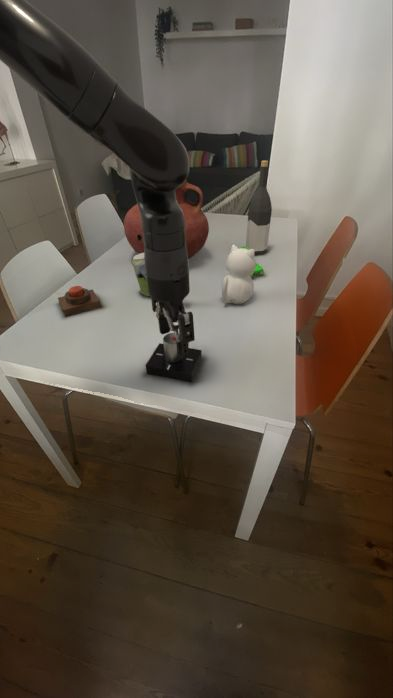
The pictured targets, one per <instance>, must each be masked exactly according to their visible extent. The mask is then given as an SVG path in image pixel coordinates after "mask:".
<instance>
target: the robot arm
mask: <svg viewBox="0 0 393 698" xmlns="http://www.w3.org/2000/svg"><path fill="white" fill-rule="evenodd" d="M0 62H2V64H4V65H5V66H6V67H8V69H10V70H11V71H12V72H13V73H14V74H15V75H16V76H18V77H19V78H20V79H21V80H22V81H23V82H24V83H26V85H27V86H29V87H30V88H31V89H32V90H33V91H34V92H35V93H37V94H38V95H39V96H40V97H42V99H43V100H45V101H46V102H47V103H48V104H49V105H50V106H52V107H53V108H54V109H55V110H56V111H57V112H58V113H60V114H61V115H62V116H63V117H64V118H66V120H68V121H69V122H70V123H71V124H73V125H74V126H75V127H76V128H77V129H79V130H80V131H81V132H82V133H84V134H85V135H86V136H87V137H88V138H90V139H91V140H92V141H93V142H95V143H97V144H98V145H100V146H101V147H103V148H105V149H107V150H108V151H110V152H112V154H114V155H115V156H116V157H117V158H118V159H120V160H121V161H122V162H123V163H124V164H125V165H127V167H128V170H129V175H130V181H131V184H132V185H131V186H132V189H133V193H134V196H135V200H136V204H138V207H139V211H140V215H141V225H142V234H143V242H144V261H145V268H146V276H147V284H148V291H149V295H150V296H149V297H150V298H151V299H150V300H151V309H152V312H153V313H155V317H156V318H157V319H158V320H157V322H158V330H159V333H160V335H167V334H169V333H171V331H172V332H173V333H174V334H175V337H176V344H177V354H178V355H179V356H183V355H186V354H188V352H189V348H190V347H189V343H191V342H195V340H196V339H195V338H196V337H195V326H194V325H195V323H194V314H193V312H192V311H188V312H186V307H185V304H184V300H185V299H186V297H188V295H189V294H190V289H191V288H190V267H189V266H190V265H189V259H188V252H187V247H186V230H185V217H184V213H183V210H182V208H181V207H180V206H179V204H178V202H177V200H176V195H175V190H176V189H178V188H179V187H180V186H182V185H183V183H184V182H185V180H187V179H188V177H189V173H190V166H191V165H190V158H189V154H188V151H187V148H186V146H185V145H184V143H183V142H182V141H181V139H180V138H179V137H178V136H177V135H176V134H175V133H174V132H173V131H172V129H170V128H169V127H168V126H167V125H166V124H164V123H163V122H162V121H161V120H160V119H159V118H157V117H156V116H154V114H152V113H151V112H150V111H149V110H147V108H145V107H144V106H143V105H141V104H140V103H139V102H137V101H136V100H135V99H134V98H133V97H132V96H131V95H130V94H129V93H128V92H127V91H126V89H124V88H123V86H122V85H121V84H120V83H119V82H118V81H117V80H116V79H115V78H114V77H113V75H111V74H110V73H109V72H108V70H106V69H105V68H104V66H102V65H101V63H100V62H98V61H97V59H96V58H95V57H94V56H93V55H92V54H91V53H90V52H89V51H87V49H86V48H85V47H84V46H83V45H82V44H80V43H79V42H78V41H77V40H76V39H75V38H74V37H73V36H71V34H69V33H68V32H67V31H65V30H64V29H63V28H62V27H60V26H59V24H57V23H55V21H53V20H52V19H51V18H50V17H48V16H47V15H45V14H44V13H43V12H41V10H39V9H38V8H37V7H35V6H34V5H32V4H31V3H30V2H29V1H27V0H0ZM174 323H177V324H174Z"/></svg>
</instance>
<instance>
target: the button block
mask: <svg viewBox="0 0 393 698" xmlns="http://www.w3.org/2000/svg"><path fill="white" fill-rule="evenodd" d="M82 288H83V292H84V294H83V295H82V296H79V297H71V296H70V292H69V290H68V291H66V292H65V294H64V296H58V297H57V300H58V303H59V306H60V308H61V310H62V314H63V315H64V318H67V317H70V316H74V315H78V314H82V313H85V312H86V313H87V312H90V311H92V310H97V309H101V308H102V304H101V301H100V299H99V297H98V295H97V294H96V293H95V291H94V289H87V288H84V287H82Z"/></svg>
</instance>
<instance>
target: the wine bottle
mask: <svg viewBox="0 0 393 698" xmlns="http://www.w3.org/2000/svg"><path fill="white" fill-rule="evenodd" d="M259 167H260V168H259V180H258V187H257V189H256V191H255V193H254V194H253V196H252V198H251V200H250V203H249V206H248V213H247V225H246V239H245V247H246V248H248V249H254V251H255V254H254V256H263V255H265V254H266V253H267V251H268V244H269V238H270V237H269V236H270V230H271V229H270V228H271V219H272V211H273V209H272V201H271V197H270V196H271V195H270V194H269V191H268V188H267V181H268V171H269V160H261V164H260V166H259Z"/></svg>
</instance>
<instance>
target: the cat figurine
mask: <svg viewBox="0 0 393 698" xmlns="http://www.w3.org/2000/svg"><path fill="white" fill-rule="evenodd" d="M238 248H240V249H238ZM254 254H255V251H254V249H250V250H247V249H244V248H241V247H237V245H236V244H234V243H233V244H232V246H231V247H230V254H229V255H228V256H227V259H226V268H227V271H228V272H229V273H228V274H227V275H226V276H225V277H224V278H223V279H222V282H221V297H222V300H223V301H224V303H226V304H230V303H231V304H233V305H241V304H244V303H246V302H247V301H248V300H249V299H250V298H252V296H253V293H254V289H255V286H254V285H255V284H254V281H253V279H252V278H253V277H252V278H251V277H250V276H249V275H251V274H252V273H253V272H254V270H255V268H256V263H257V261H256V258H255V255H254Z"/></svg>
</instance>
